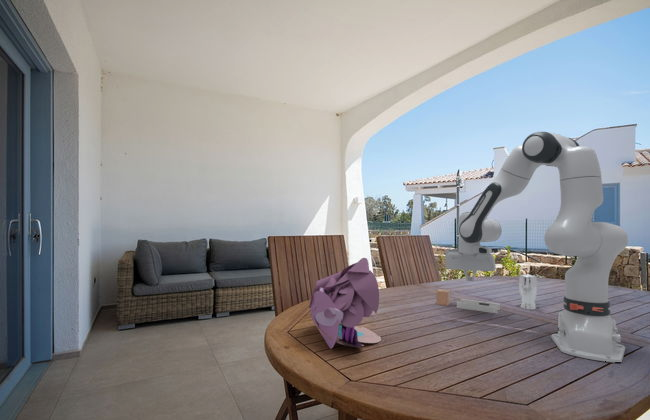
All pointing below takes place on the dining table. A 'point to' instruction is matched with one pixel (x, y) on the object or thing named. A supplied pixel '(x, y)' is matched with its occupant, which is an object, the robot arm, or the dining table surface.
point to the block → (443, 297)
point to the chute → (478, 306)
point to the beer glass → (528, 291)
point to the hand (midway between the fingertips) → (470, 280)
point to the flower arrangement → (346, 305)
